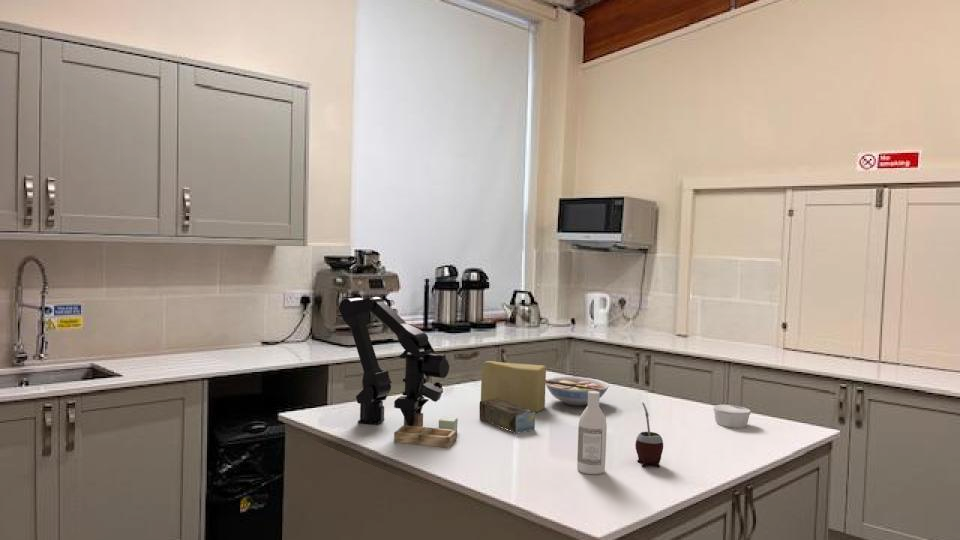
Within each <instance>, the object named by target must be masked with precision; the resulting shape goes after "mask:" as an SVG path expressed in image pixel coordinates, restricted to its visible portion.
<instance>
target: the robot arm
mask: <svg viewBox="0 0 960 540" xmlns="http://www.w3.org/2000/svg"><path fill="white" fill-rule="evenodd" d="M338 311H339V314H340V316H341V318H342V320H343V322H344V323H345V324H346V325H347V326H348V327H349V328H350V330H351V334H352V337H353V341H354V343H355V344H354V345H355V346H356V347H355V348H356V352H357V355H358V358H359V361H360V364H361V367H362V370H363V375H362V380H361V384H362V390H361V391H360V392H359V393H358V394H357V395H356V396H355V399H356V403H357V404H360V405H359V406H360V407H359V408H360V410H359V419H358V420H357V423H359V424H369V425H378V424H381V422H383V421H384V420H385V405H384V403H383V402H384V401H386V400H387V397H388V395H389V394H390V392H391V389H392V385H391V384H392V383H393V382H392V381H391V378H390V375H389V374H390V373H389V371H388V370H383V369H381V368H380V365H379V362H378V359H377V356H376V353H375V350H374V345H373V342H372V339H371V336H370V333H369V332H370V331H369V330H368V326H367V320H368V319H367V318H368V311H370V312H371V313H372V314H373V315H374V316H375V317H376V318H377V319H378V320H380V322H382V324H384V325H385V326H386V327H387V328H388V329H389V330H390V331H391V332H392V333H394V335H395V336H396V337H397V341H398V343H399V345H401V347H402V348H403V352H402V353H401V354H400V355H398V357H399V359H404V360H405V362H404V363H405V364H404V365H405V366H404V367H405V369H404V371H405V372H404V377H402V382H404V391H402V395H400V396H399V397H397V398H396V399H395V400H394V401H393V408H394V409H399V410H400V411H401V413H402V415H403V419H404V418H405V420H406V422H407V425H408V426H413V424H414V418H415V413H422V410H423V406H424V405H425V404H426V403H428V402H429V400H431V402H438V401H439V400H440V399H441V397H442V394H443V393H444V388H443V383H442V382H440V381H438V380H437V381H436V382H434V383H433V382H431V383H430V382H428V378H427V377H430V378H431V377H432V378H440V379H445V378H447V376H448V374H449V371H450V364H449V361H448V359H447V357H446V354H443V353H442V354H438V353H436V352H435V350H434V348H433V346H432V344H431V343H430V341H429V337H428V335H427V334H426V332H424V331H422V330H421V329H419V328H417V327H416V326H413V325H410V324H409V323H407V322H406V321H405V320H404V319H403V318H402V317H400V315H399V314H397V312H395V311H394V310H393V309H392V308H391V307H390V306H389V305H388V304H386V303H385V301H384V300H383V298H381V297H379V296H374V297H369V298H364V299H363V298H361V297H350V298H348V297H347V298H345V299H342V300H341V301H340V303H339V305H338Z"/></svg>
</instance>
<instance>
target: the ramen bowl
mask: <svg viewBox="0 0 960 540" xmlns="http://www.w3.org/2000/svg"><path fill="white" fill-rule="evenodd" d="M545 387H547V389H548V391H549V392H550V394H551V396H553V397H554V398H555V399H557V400H559V401H560V402H564V404H566V405H569V406H575V407H582V406H583V407H584V406H586V405H588V392H589V391H597V392H599V393H600V399H601V398H602V396H604V394H605V393H606V392H607V390H608V388H609V387H610V384H609V383H608V382H606V381H604V380H601V379H596V378H591V377H580V376H558V377H557V376H556V377H551V378H547V379H546V385H545Z"/></svg>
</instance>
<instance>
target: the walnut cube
mask: <svg viewBox="0 0 960 540" xmlns="http://www.w3.org/2000/svg"><path fill="white" fill-rule="evenodd" d="M403 425H407V422H406V420H405V418H404V417H403ZM407 426H408V425H407ZM413 426H418V427H424V412H421V413H415V418H414V424H413Z"/></svg>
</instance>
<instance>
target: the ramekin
mask: <svg viewBox="0 0 960 540" xmlns="http://www.w3.org/2000/svg"><path fill="white" fill-rule="evenodd" d="M713 411H714V419H715V420H714V421H715V423H716V424H717V425H719V426H722V427H725V428H731V429H744V428H745V427H746V426H747V425H748V424H749V420H750V415H751V410H750V409H749V408H747V407H743V406H739V405H733V404H717V405H714V406H713Z"/></svg>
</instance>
